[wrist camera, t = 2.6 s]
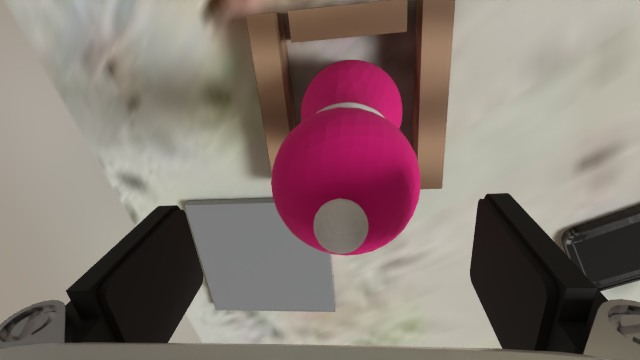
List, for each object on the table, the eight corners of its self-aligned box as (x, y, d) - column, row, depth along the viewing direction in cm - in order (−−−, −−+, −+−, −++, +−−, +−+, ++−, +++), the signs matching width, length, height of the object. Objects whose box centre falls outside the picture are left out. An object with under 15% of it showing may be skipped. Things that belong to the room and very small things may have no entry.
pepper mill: (388, 145, 29) (434, 342, 11) (307, 137, 30) (227, 313, 12) (403, 58, 26) (500, 140, 8) (312, 50, 27) (214, 111, 9)
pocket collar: (257, 16, 26) (245, 15, 23) (444, -4, 24) (455, -7, 21) (282, 179, 32) (275, 193, 29) (434, 173, 30) (441, 188, 27)
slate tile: (189, 200, 34) (184, 205, 33) (325, 196, 32) (324, 201, 31) (218, 303, 40) (215, 309, 39) (335, 305, 38) (335, 311, 37)
